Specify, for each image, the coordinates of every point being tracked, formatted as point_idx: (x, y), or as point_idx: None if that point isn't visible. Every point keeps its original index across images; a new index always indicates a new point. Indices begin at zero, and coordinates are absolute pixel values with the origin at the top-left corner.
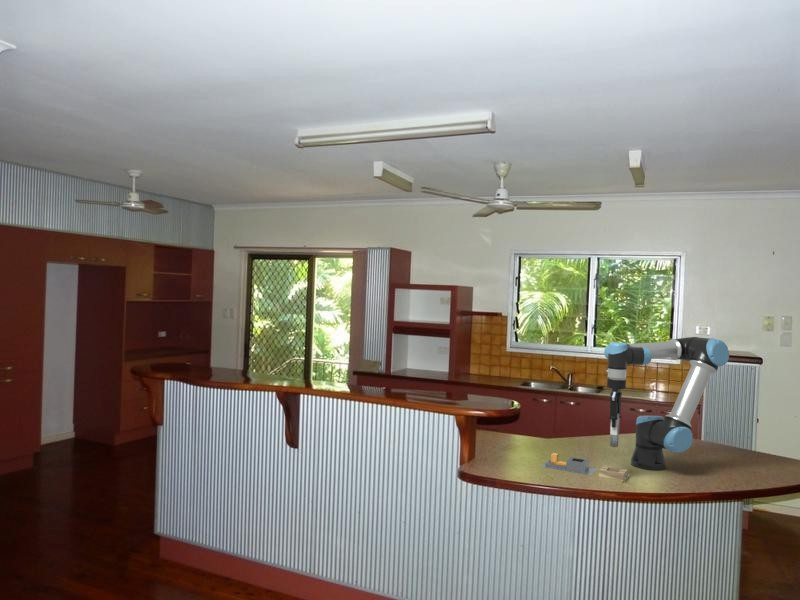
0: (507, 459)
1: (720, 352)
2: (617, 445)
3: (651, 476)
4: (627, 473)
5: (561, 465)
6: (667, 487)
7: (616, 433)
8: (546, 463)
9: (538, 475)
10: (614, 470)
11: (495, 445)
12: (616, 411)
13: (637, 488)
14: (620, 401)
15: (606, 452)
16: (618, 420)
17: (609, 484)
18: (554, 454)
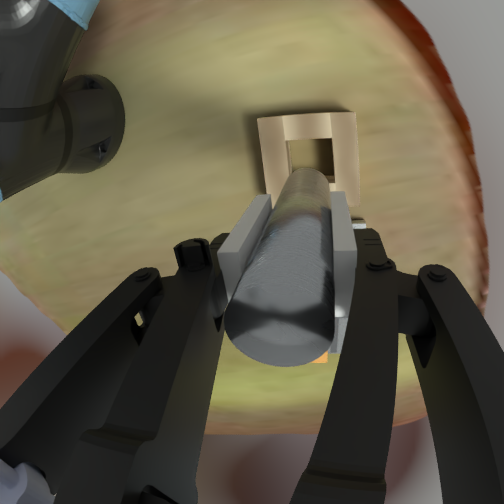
0: (305, 403)
1: None
2: (313, 170)
3: (186, 63)
4: (263, 117)
5: (335, 318)
6: None
7: (345, 199)
8: (336, 350)
9: (405, 336)
10: (288, 161)
11: (219, 422)
12: (466, 336)
13: (374, 61)
14: (129, 458)
15: (70, 250)
16: (303, 240)
17: (392, 152)
18: (322, 357)
